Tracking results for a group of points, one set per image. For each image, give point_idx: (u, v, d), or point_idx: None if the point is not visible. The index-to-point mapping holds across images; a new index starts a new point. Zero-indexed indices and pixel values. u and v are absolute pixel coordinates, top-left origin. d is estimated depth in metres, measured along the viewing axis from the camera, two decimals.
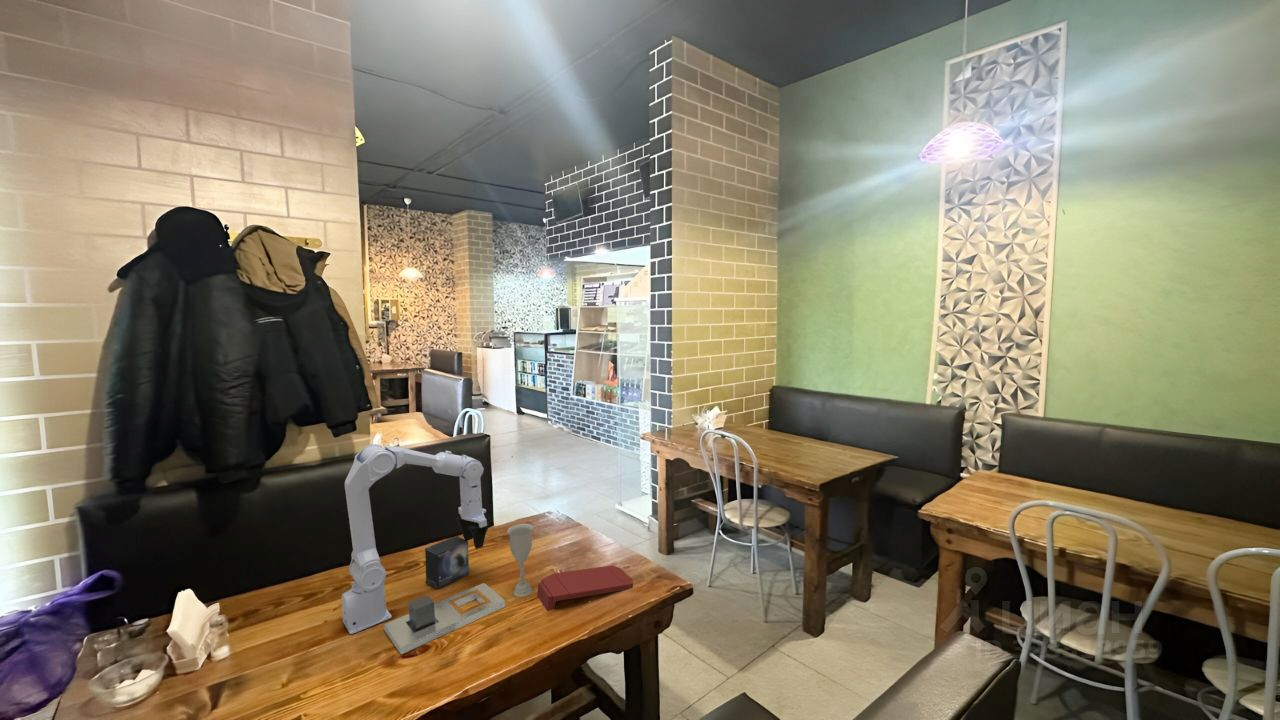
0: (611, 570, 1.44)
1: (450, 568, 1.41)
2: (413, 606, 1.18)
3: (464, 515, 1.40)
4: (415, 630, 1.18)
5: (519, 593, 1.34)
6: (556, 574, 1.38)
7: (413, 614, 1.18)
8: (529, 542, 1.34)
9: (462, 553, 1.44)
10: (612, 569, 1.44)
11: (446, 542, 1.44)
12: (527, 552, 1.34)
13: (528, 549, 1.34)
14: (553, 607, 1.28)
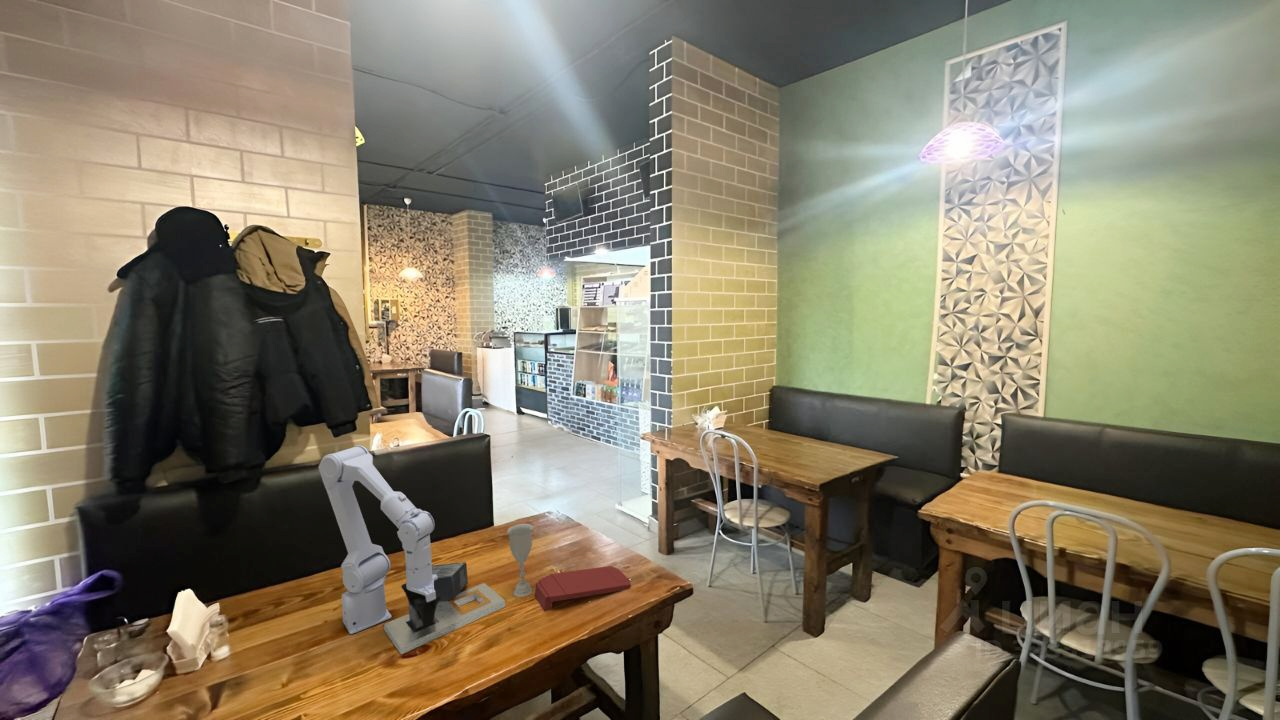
0: (609, 571, 1.44)
1: None
2: (413, 606, 1.18)
3: (409, 585, 1.17)
4: (415, 630, 1.18)
5: (519, 593, 1.34)
6: (553, 575, 1.37)
7: (413, 614, 1.18)
8: (529, 542, 1.34)
9: None
10: (610, 570, 1.44)
11: (434, 585, 1.29)
12: (527, 552, 1.34)
13: (528, 549, 1.34)
14: (550, 608, 1.28)
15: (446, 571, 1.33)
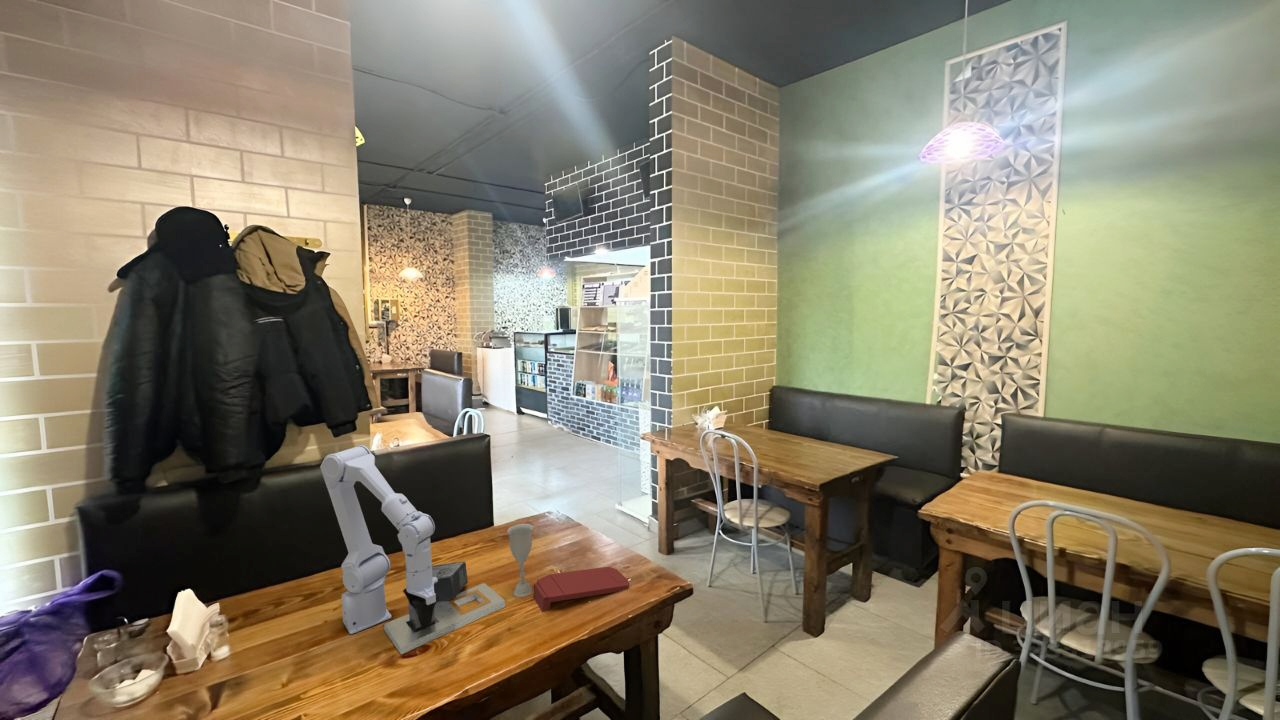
0: (607, 571, 1.43)
1: None
2: (413, 606, 1.18)
3: (409, 588, 1.17)
4: (415, 630, 1.18)
5: (519, 593, 1.34)
6: (552, 575, 1.37)
7: (413, 614, 1.18)
8: (529, 542, 1.34)
9: None
10: (609, 570, 1.44)
11: (434, 586, 1.29)
12: (527, 552, 1.34)
13: (528, 549, 1.34)
14: (548, 608, 1.27)
15: (446, 571, 1.33)
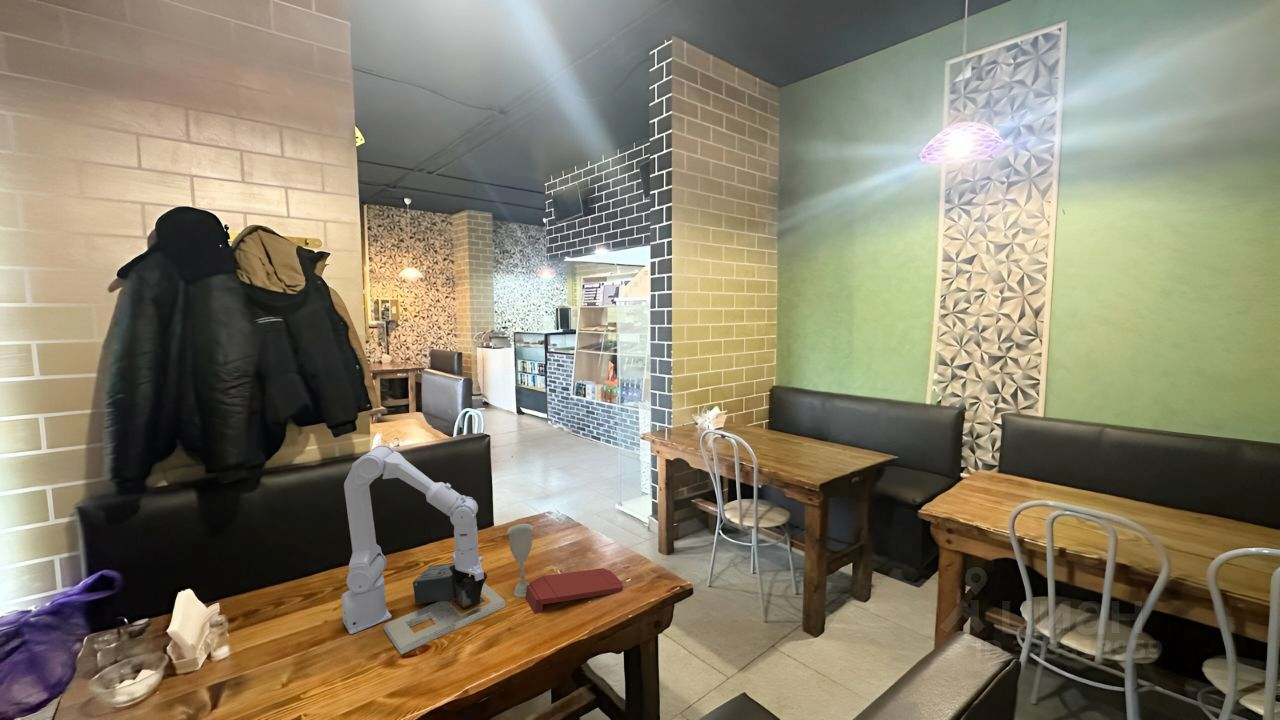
0: (601, 573, 1.42)
1: None
2: (460, 587, 1.26)
3: (458, 565, 1.25)
4: (462, 609, 1.26)
5: (519, 593, 1.34)
6: (545, 577, 1.36)
7: (460, 594, 1.26)
8: (529, 542, 1.34)
9: None
10: (603, 572, 1.43)
11: (434, 586, 1.29)
12: (527, 552, 1.34)
13: (528, 549, 1.34)
14: (540, 610, 1.26)
15: (446, 571, 1.33)
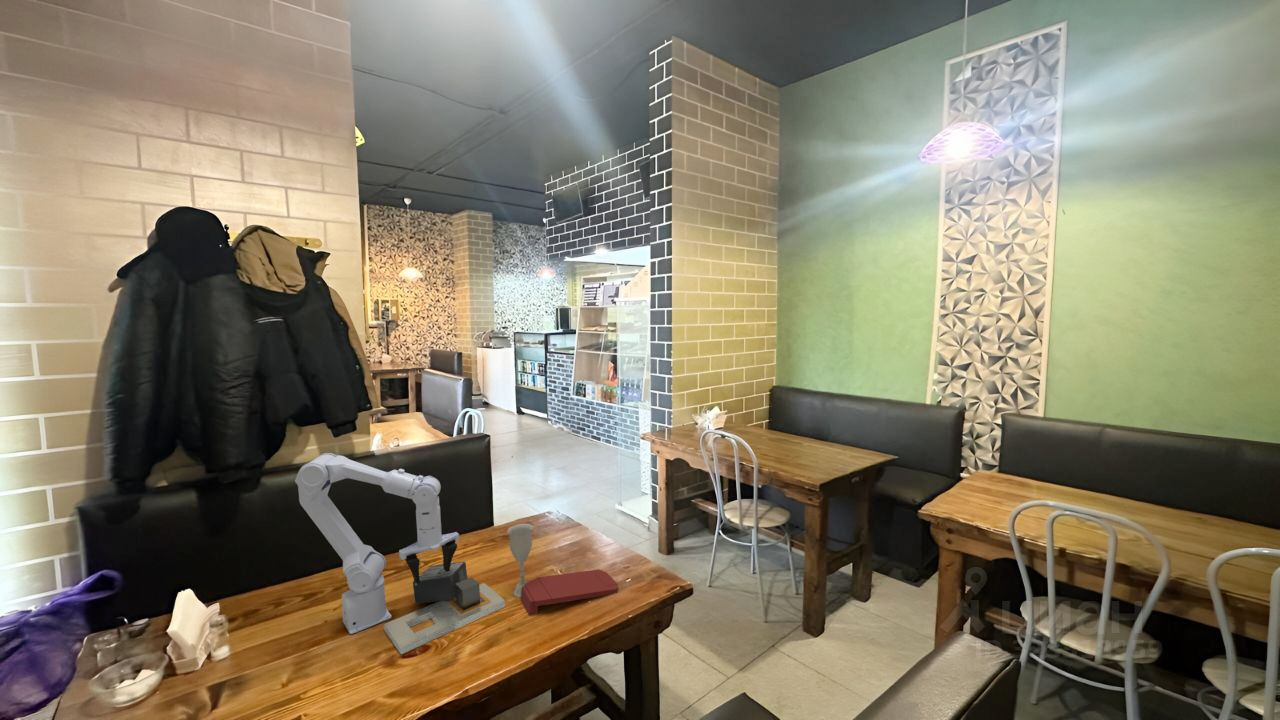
0: (597, 574, 1.42)
1: None
2: (460, 587, 1.26)
3: None
4: (462, 609, 1.26)
5: (519, 593, 1.34)
6: (540, 578, 1.36)
7: (460, 594, 1.26)
8: (529, 542, 1.34)
9: None
10: (598, 573, 1.42)
11: (434, 586, 1.29)
12: (527, 552, 1.34)
13: (528, 549, 1.34)
14: (535, 612, 1.26)
15: None
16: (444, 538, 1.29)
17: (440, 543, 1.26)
